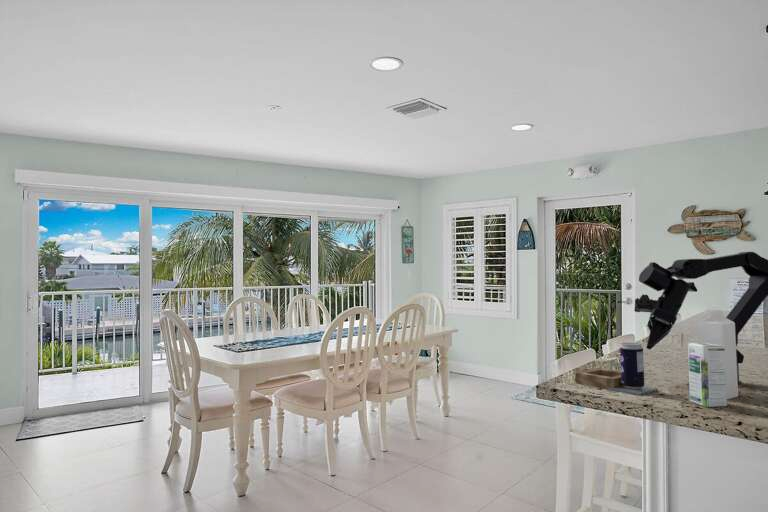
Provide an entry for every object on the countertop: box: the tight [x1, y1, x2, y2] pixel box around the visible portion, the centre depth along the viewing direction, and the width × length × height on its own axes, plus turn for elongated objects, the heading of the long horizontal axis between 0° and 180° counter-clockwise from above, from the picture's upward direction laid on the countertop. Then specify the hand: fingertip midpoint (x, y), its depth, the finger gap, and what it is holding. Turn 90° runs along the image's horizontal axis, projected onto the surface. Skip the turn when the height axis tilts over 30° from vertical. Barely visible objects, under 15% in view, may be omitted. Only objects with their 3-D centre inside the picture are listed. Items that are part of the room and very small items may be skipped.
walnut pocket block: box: [574, 367, 623, 390], centre depth 146 cm, size 12×12×3 cm
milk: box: [697, 309, 739, 400], centre depth 130 cm, size 6×6×22 cm
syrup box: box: [687, 342, 728, 408], centre depth 122 cm, size 6×6×14 cm
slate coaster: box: [607, 385, 658, 396], centre depth 137 cm, size 9×9×1 cm
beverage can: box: [619, 342, 645, 389], centre depth 138 cm, size 6×6×12 cm
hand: (648, 347), depth 144 cm, fingers open, 9 cm apart
